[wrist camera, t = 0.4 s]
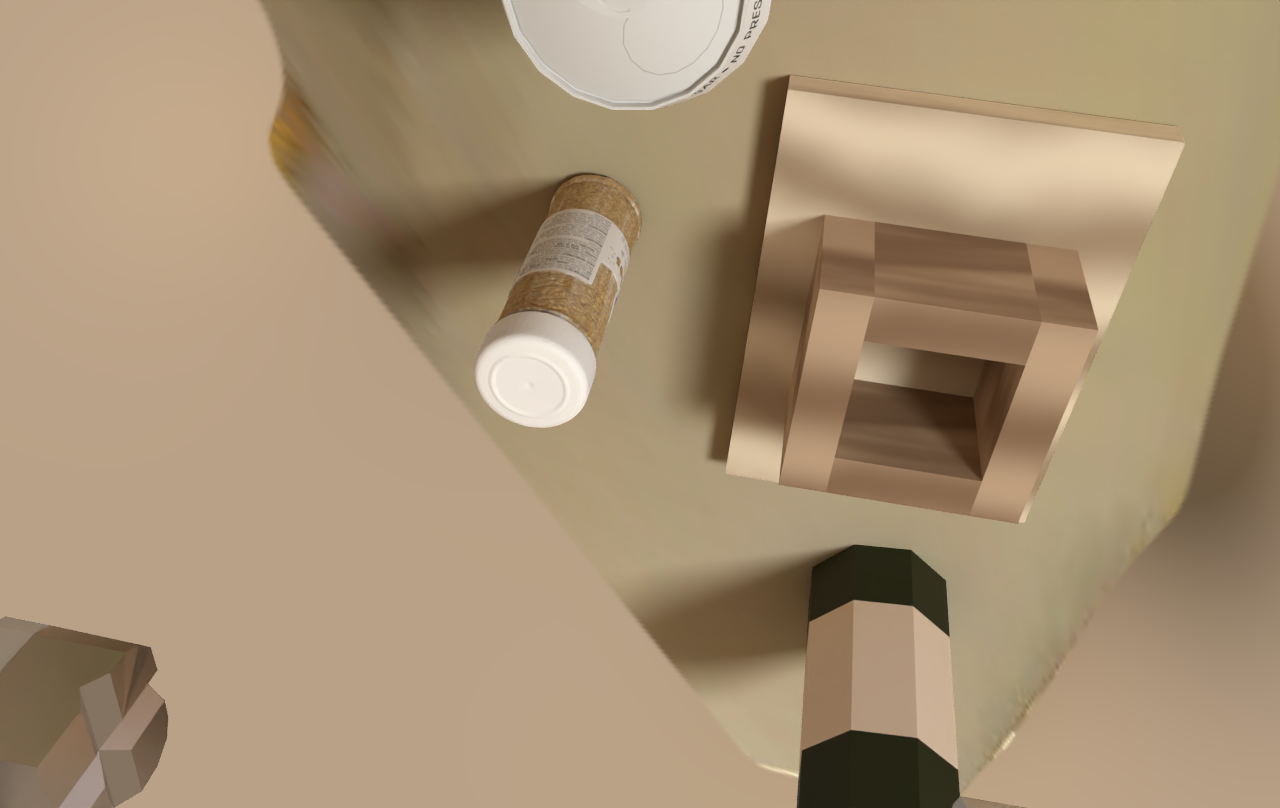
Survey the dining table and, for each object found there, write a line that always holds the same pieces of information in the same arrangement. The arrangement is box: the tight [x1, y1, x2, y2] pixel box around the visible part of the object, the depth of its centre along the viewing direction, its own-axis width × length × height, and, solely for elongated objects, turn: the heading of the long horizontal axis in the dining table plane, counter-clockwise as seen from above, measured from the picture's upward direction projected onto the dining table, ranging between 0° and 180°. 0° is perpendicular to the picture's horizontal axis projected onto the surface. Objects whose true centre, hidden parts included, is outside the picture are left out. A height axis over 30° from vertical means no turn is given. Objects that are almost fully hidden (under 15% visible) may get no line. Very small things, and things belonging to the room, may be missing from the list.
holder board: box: [725, 75, 1185, 524], centre depth 50 cm, size 22×16×8 cm
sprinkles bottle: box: [474, 175, 642, 428], centre depth 47 cm, size 5×5×13 cm
